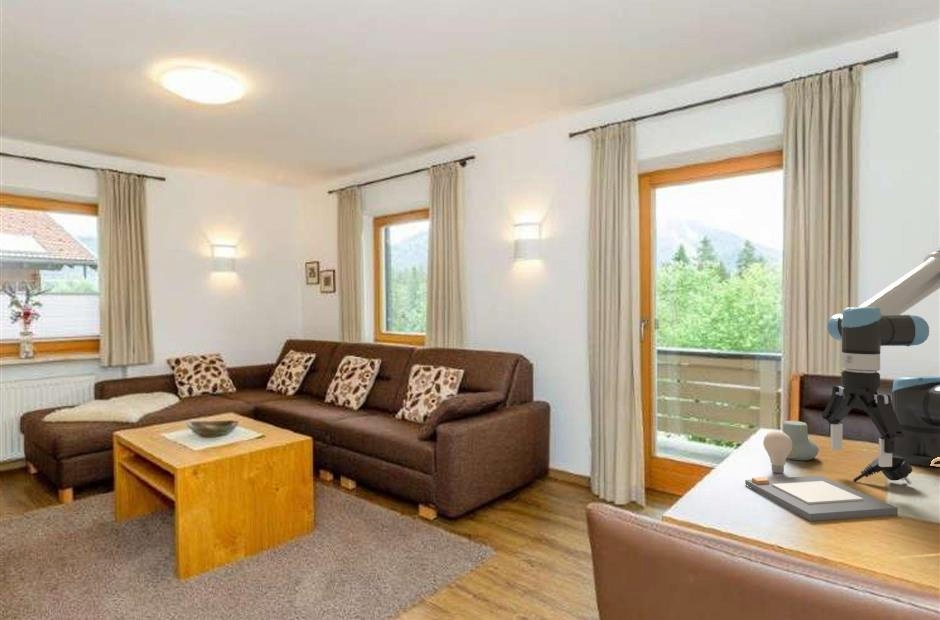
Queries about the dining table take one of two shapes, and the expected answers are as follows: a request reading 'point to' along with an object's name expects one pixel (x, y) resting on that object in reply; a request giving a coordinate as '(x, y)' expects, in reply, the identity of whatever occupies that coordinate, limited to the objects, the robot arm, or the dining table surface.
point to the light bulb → (777, 449)
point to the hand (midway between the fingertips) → (859, 457)
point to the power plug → (889, 469)
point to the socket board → (820, 498)
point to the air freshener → (800, 441)
